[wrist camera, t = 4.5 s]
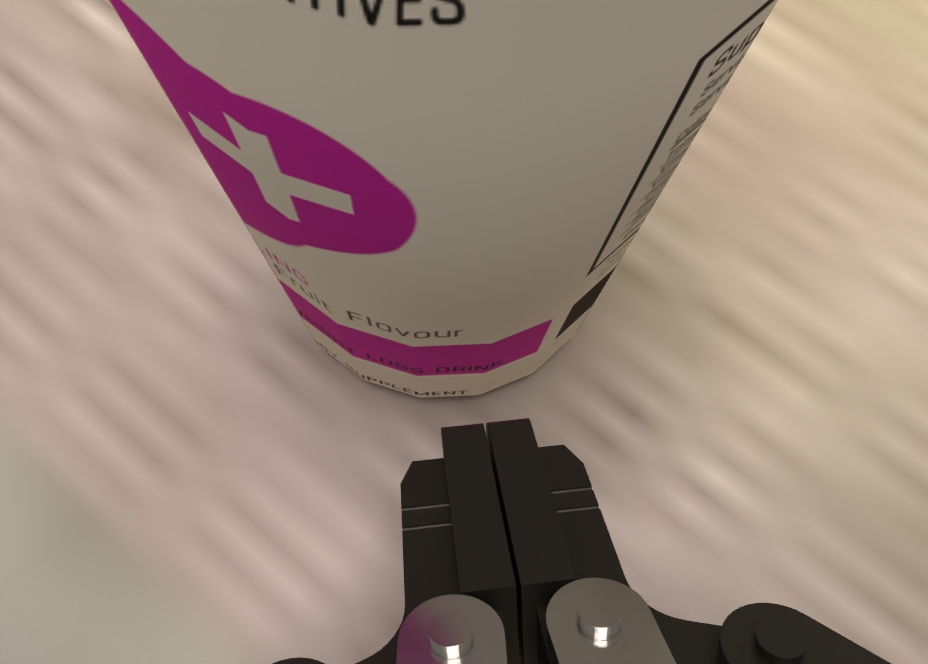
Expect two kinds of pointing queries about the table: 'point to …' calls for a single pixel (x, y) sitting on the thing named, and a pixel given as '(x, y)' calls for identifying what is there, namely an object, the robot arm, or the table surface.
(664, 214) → the table surface
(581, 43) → the supplement can
